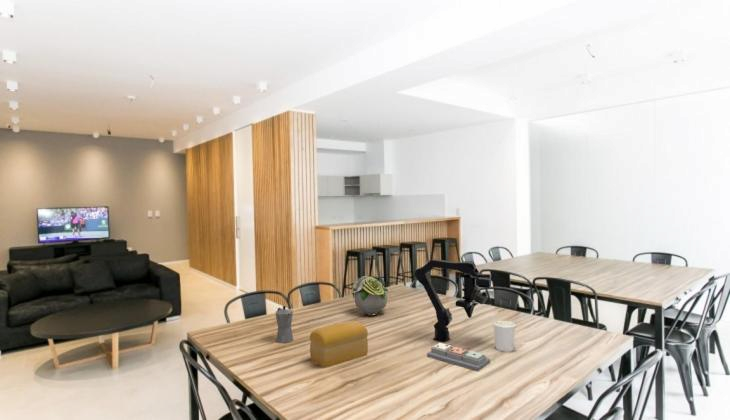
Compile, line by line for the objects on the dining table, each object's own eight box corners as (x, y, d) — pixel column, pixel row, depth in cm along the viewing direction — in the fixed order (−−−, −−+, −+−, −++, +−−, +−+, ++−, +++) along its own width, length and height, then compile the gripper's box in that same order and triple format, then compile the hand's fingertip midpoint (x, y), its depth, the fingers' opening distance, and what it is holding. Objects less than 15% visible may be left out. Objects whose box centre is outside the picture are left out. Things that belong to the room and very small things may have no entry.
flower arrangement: (345, 311, 259) (345, 274, 259) (379, 306, 270) (379, 271, 269) (361, 321, 237) (360, 281, 236) (397, 316, 247) (397, 277, 247)
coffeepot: (298, 341, 204) (297, 307, 204) (280, 345, 199) (280, 310, 199) (286, 333, 217) (286, 301, 217) (270, 337, 212) (269, 303, 211)
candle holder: (501, 353, 185) (501, 328, 185) (489, 346, 194) (489, 321, 194) (519, 351, 187) (519, 325, 187) (507, 343, 197) (506, 320, 197)
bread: (352, 347, 196) (352, 317, 196) (368, 355, 186) (368, 323, 185) (309, 359, 181) (308, 327, 181) (324, 368, 171) (323, 334, 171)
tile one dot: (464, 360, 173) (464, 354, 173) (471, 356, 178) (471, 350, 178) (477, 364, 169) (477, 357, 169) (483, 359, 174) (483, 353, 174)
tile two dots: (433, 351, 184) (433, 346, 184) (440, 347, 188) (439, 342, 188) (444, 354, 180) (444, 349, 180) (451, 351, 184) (451, 345, 184)
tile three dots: (448, 356, 178) (448, 350, 178) (455, 352, 183) (455, 346, 183) (460, 359, 174) (460, 353, 174) (467, 355, 179) (467, 349, 179)
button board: (427, 356, 182) (427, 349, 182) (440, 349, 191) (440, 341, 191) (477, 371, 166) (477, 363, 166) (490, 362, 175) (489, 354, 175)
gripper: (476, 292, 186) (476, 325, 186) (492, 285, 200) (493, 316, 200) (454, 289, 193) (455, 320, 193) (472, 282, 207) (472, 312, 207)
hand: (469, 317), depth 198 cm, fingers closed
